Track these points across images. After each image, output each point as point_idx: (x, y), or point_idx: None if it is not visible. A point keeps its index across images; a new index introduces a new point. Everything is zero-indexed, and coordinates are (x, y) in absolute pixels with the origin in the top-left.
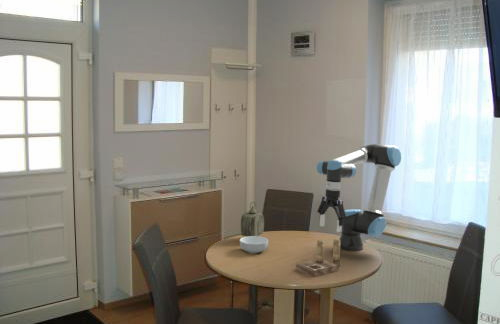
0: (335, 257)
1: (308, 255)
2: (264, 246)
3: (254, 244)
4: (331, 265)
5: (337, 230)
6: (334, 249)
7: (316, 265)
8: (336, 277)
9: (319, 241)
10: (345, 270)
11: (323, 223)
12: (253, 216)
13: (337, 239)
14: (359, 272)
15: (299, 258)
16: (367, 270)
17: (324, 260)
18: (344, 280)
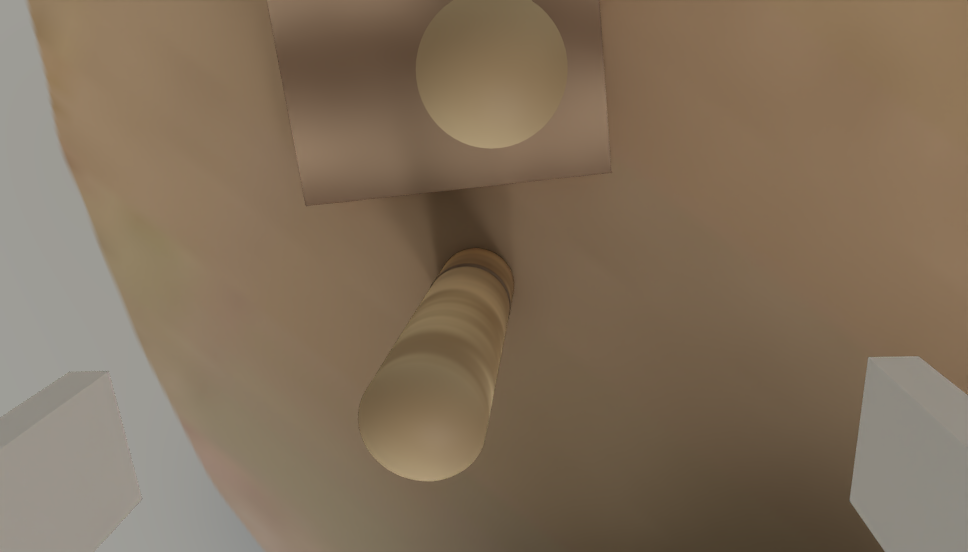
0: (435, 282)
1: (963, 233)
2: None
3: None
4: (322, 118)
5: (42, 394)
6: (435, 308)
7: None
8: (152, 36)
9: (489, 36)
10: (305, 270)
11: (904, 523)
12: None
13: (454, 459)
14: (206, 352)
15: (937, 46)
16: (228, 454)
17: (523, 163)
18: (50, 57)
